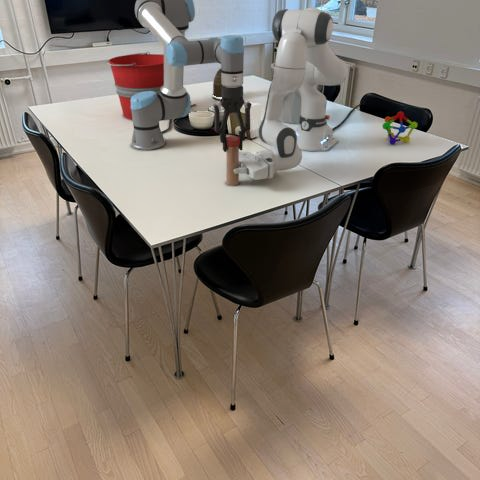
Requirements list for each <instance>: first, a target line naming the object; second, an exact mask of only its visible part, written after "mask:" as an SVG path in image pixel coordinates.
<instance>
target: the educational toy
mask: <svg viewBox="0 0 480 480" xmlns="http://www.w3.org/2000/svg"><path fill="white" fill-rule="evenodd" d="M397 119H399V124H400V125H399V127H398V126H393V125H391V124H392V123H394V122H395V121H396V120H397ZM403 120H404V121H405V122H407V123H408V124H409V125H407V126H404V123H403ZM417 127H418V122H417V121H411V120H410V119H409V118H408V117H406V116H405V113H404V112H403V111H401V110H400V111H398V112H397V114H396V115H394V116H391V117H390V116H386V117H385V118H384V122H383V123H382V129H383V130H386V132H387V138H388V142H389V145H395V144H396V143H397V142H402V141H403V142H404V143H409V142H410V140H411V138H410V136H411V134H412V132H413V131H414V130H415V129H417ZM392 129H393V130H397V131H398V132H396V134H395V133H394V132H392ZM408 129H409V131H408V133H407V134H406V135H404V136H401V134H403V133H405V132H406V130H408ZM399 135H400V136H399Z"/></svg>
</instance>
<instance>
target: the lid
mask: <svg viewBox="0 0 480 480" xmlns="http://www.w3.org/2000/svg"><path fill="white" fill-rule="evenodd" d="M239 144H240V138H239V136H236V135H229V136H226V145H228V146H237V145H239Z"/></svg>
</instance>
